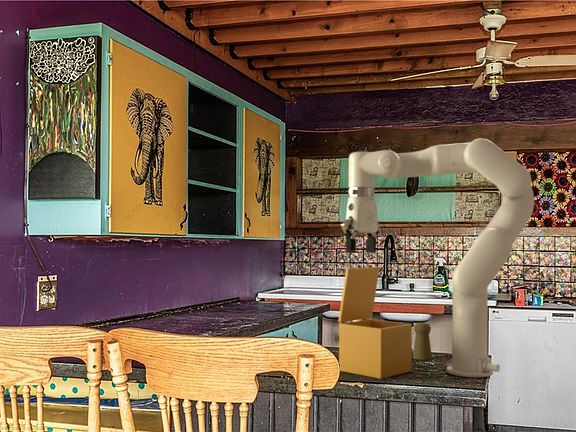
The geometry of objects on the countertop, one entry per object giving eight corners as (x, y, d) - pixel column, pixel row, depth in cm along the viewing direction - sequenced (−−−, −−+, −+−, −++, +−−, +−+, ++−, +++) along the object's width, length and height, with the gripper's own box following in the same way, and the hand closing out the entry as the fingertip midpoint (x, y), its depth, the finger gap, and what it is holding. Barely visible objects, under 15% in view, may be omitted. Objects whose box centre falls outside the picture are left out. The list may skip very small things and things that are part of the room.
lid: (379, 267, 202) (366, 263, 206) (348, 269, 192) (335, 265, 195) (371, 318, 204) (358, 313, 207) (340, 322, 193) (327, 317, 197)
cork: (430, 360, 210) (430, 324, 211) (410, 359, 212) (411, 323, 213) (433, 357, 216) (433, 322, 216) (414, 355, 218) (414, 321, 218)
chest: (411, 371, 194) (412, 324, 194) (380, 378, 183) (381, 329, 183) (370, 363, 204) (370, 319, 204) (338, 370, 193) (339, 323, 194)
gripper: (353, 192, 192) (353, 253, 191) (389, 195, 204) (388, 252, 204) (332, 193, 197) (332, 252, 196) (368, 196, 209) (368, 251, 209)
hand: (361, 252), depth 200 cm, fingers open, 9 cm apart
